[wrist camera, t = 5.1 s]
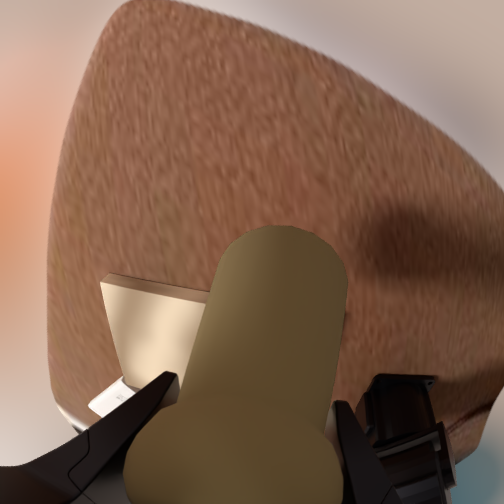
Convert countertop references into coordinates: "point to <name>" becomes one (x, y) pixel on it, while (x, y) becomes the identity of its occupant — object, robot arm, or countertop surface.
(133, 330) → the birch board
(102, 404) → the external hard drive
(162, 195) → the countertop surface
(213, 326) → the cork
